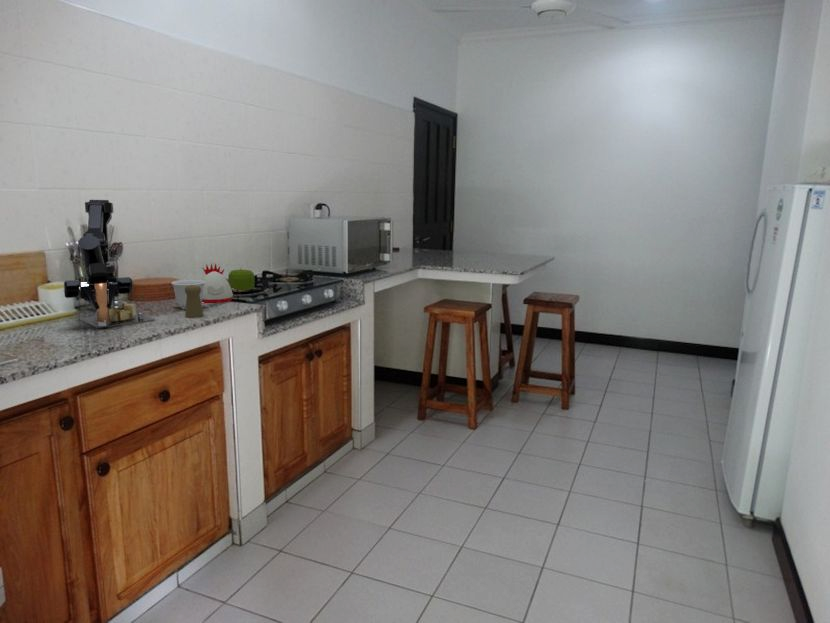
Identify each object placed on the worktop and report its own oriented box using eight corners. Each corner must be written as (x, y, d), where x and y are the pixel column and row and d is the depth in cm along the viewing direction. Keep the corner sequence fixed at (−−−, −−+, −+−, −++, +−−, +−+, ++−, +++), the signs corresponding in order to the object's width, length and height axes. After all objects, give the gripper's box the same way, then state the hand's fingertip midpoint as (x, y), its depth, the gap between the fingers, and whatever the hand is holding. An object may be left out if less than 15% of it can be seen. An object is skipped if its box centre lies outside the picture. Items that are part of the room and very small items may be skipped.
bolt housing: (78, 319, 192) (77, 300, 191) (134, 312, 205) (133, 294, 203) (97, 328, 180) (95, 308, 178) (155, 320, 192) (154, 301, 191)
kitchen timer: (196, 298, 235) (194, 262, 232) (231, 296, 240) (229, 261, 237) (197, 304, 223) (195, 266, 220) (234, 302, 228) (233, 265, 225)
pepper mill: (205, 314, 204) (204, 283, 202) (200, 318, 198) (198, 286, 196) (188, 314, 204) (186, 283, 202) (182, 317, 198) (180, 286, 196)
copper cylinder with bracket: (104, 314, 196) (101, 275, 194) (139, 314, 198) (136, 275, 196) (83, 327, 177) (78, 284, 174) (121, 327, 179) (118, 283, 176)
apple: (240, 295, 243) (239, 270, 241) (223, 293, 249) (222, 268, 247) (260, 292, 253) (259, 267, 250) (243, 289, 258) (242, 265, 256)
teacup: (182, 314, 204) (180, 286, 202) (167, 307, 215) (166, 281, 213) (215, 310, 212) (214, 283, 210) (199, 304, 223) (198, 278, 221)
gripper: (61, 254, 173) (68, 295, 166) (129, 252, 184) (138, 291, 177) (61, 277, 181) (68, 317, 174) (126, 273, 191) (135, 311, 185)
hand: (103, 308), depth 177 cm, fingers closed on copper cylinder with bracket, 3 cm apart
